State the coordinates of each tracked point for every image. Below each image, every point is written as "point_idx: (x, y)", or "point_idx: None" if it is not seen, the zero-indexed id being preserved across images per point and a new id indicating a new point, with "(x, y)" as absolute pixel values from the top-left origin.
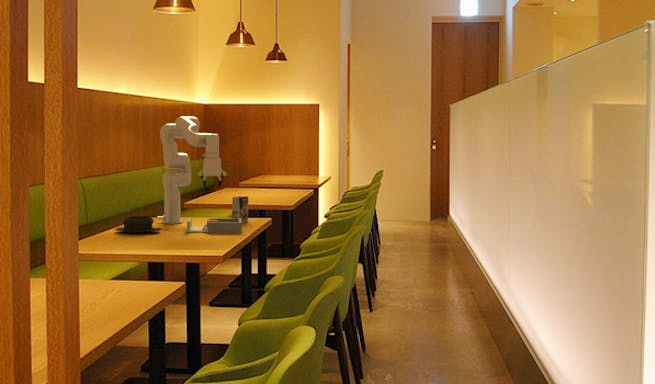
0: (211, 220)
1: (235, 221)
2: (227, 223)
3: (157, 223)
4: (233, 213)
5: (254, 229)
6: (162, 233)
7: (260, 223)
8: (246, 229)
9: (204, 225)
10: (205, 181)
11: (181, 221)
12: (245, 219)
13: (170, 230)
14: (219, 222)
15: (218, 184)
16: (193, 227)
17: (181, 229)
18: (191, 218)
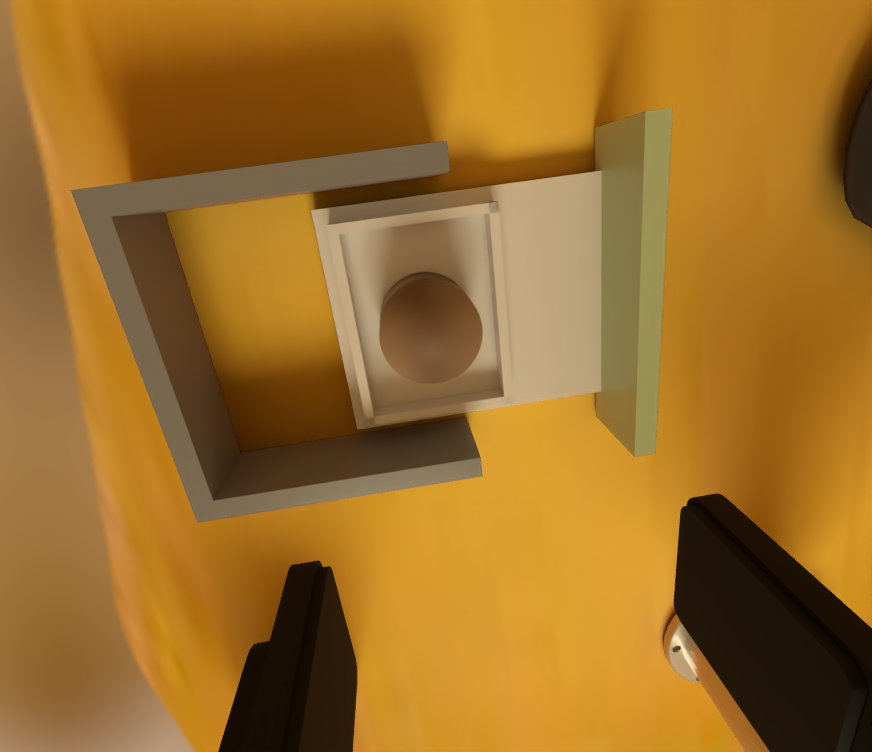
0: (440, 346)
1: (251, 479)
2: (234, 169)
3: None
4: None
5: (103, 438)
6: (814, 106)
7: (166, 701)
8: None
9: (501, 379)
10: (841, 647)
11: (676, 626)
12: None
13: (744, 294)
14: (322, 166)
15: (315, 637)
16: (583, 358)
17: (664, 358)
18: (632, 428)
